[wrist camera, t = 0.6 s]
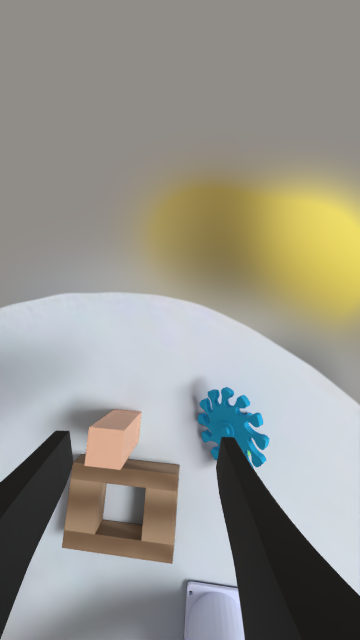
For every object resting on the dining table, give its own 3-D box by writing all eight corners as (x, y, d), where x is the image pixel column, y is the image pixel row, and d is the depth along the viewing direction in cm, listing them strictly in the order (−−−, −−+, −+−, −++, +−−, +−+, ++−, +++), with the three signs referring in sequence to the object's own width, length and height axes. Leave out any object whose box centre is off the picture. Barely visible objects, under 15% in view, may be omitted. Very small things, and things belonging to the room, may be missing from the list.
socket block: (174, 546, 30) (172, 563, 28) (72, 532, 31) (61, 547, 29) (179, 465, 31) (178, 474, 29) (82, 454, 32) (72, 462, 30)
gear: (193, 383, 31) (260, 399, 24) (220, 375, 35) (285, 387, 28) (196, 463, 31) (265, 506, 24) (223, 446, 35) (289, 478, 28)
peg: (138, 441, 32) (120, 469, 24) (111, 438, 33) (84, 465, 25) (141, 411, 33) (124, 430, 25) (114, 409, 33) (89, 426, 25)
